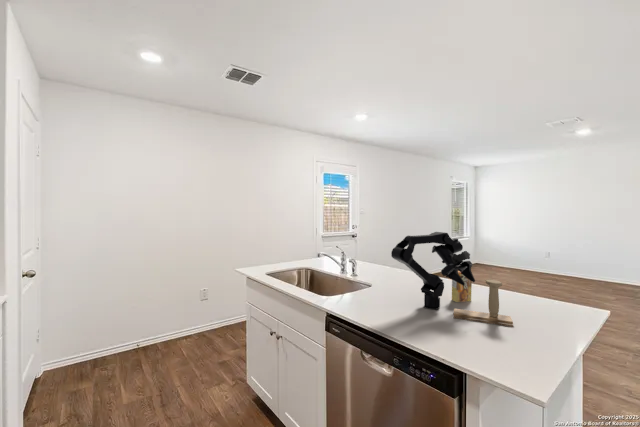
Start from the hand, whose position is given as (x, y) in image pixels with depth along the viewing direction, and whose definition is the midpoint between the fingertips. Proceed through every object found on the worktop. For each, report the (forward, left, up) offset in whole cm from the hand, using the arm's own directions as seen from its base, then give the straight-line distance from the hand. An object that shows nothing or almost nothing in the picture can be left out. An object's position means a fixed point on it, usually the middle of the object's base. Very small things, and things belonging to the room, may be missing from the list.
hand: (469, 283), depth 134 cm
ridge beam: (+5, -5, -14) cm, 15 cm away
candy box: (-3, +18, -14) cm, 23 cm away
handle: (+9, -5, -12) cm, 16 cm away
